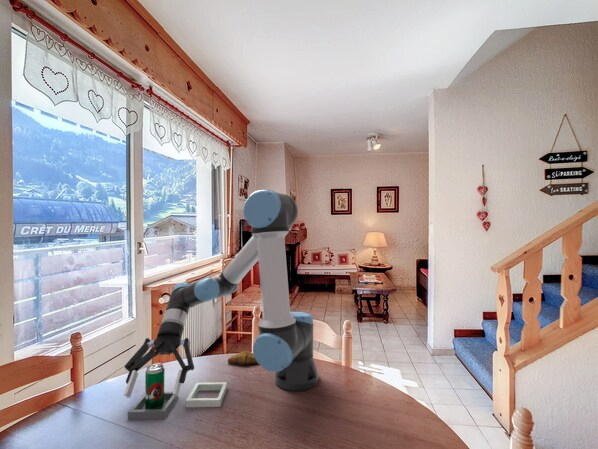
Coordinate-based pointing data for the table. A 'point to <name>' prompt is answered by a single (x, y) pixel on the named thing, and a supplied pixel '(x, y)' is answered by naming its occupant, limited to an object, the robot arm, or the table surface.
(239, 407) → the table surface
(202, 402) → the socket lower
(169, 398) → the socket upper
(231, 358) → the croissant
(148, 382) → the soda can
